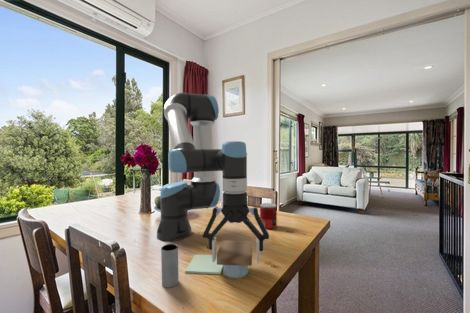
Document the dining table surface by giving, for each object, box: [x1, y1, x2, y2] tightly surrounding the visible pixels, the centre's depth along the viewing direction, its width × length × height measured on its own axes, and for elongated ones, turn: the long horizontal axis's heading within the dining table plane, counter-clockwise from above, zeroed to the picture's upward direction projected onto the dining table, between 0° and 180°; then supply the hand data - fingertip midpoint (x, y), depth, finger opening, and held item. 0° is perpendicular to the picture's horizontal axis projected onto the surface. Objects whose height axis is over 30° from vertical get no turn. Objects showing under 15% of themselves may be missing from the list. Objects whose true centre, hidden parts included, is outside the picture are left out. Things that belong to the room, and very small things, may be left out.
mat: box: [184, 254, 223, 275], centre depth 72 cm, size 11×11×1 cm
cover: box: [216, 240, 253, 267], centre depth 68 cm, size 10×10×3 cm
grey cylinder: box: [160, 243, 180, 288], centre depth 62 cm, size 4×4×10 cm
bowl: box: [222, 265, 249, 279], centre depth 68 cm, size 8×8×4 cm
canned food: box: [259, 202, 278, 230], centre depth 108 cm, size 8×8×11 cm
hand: (236, 260), depth 68 cm, fingers open, 13 cm apart
